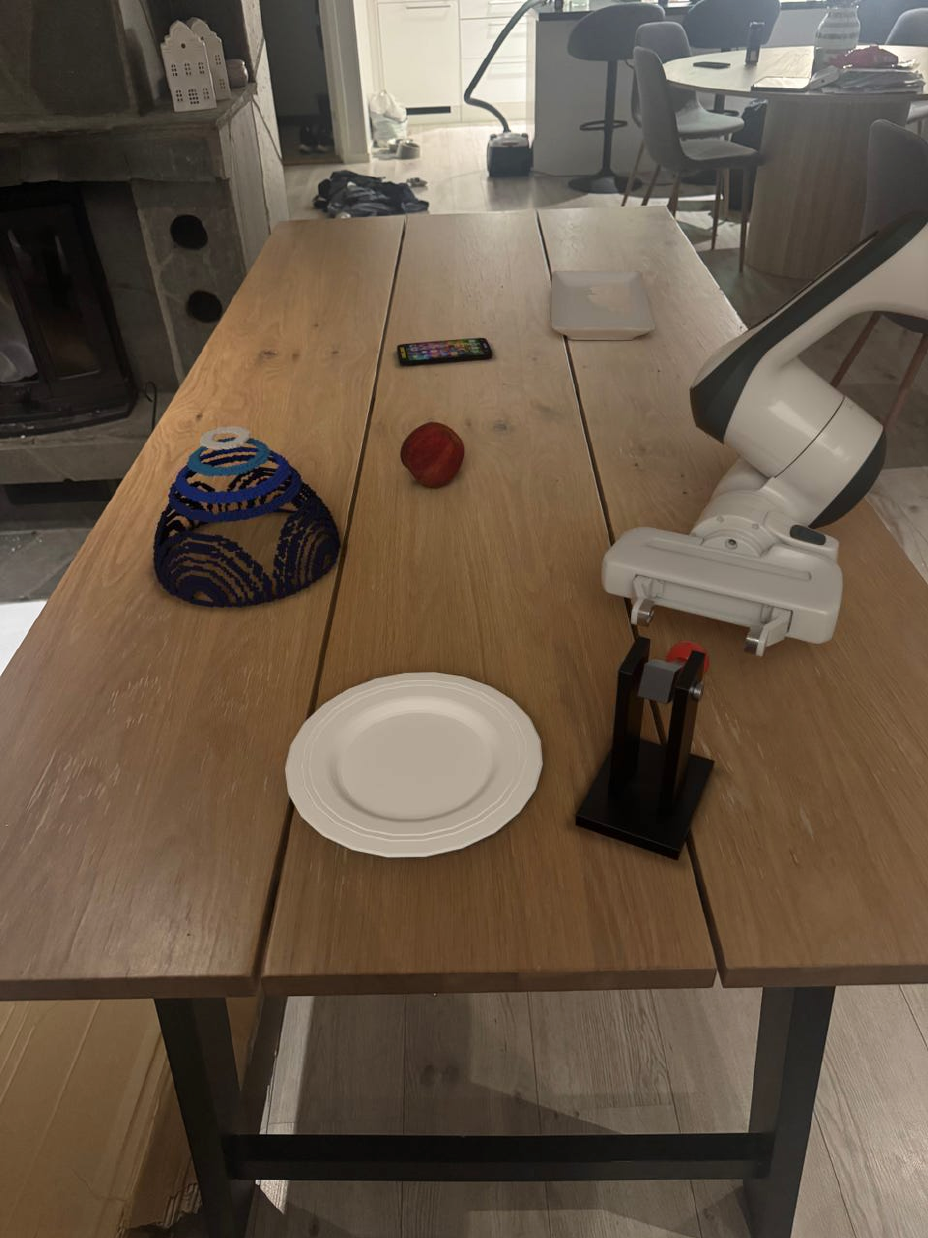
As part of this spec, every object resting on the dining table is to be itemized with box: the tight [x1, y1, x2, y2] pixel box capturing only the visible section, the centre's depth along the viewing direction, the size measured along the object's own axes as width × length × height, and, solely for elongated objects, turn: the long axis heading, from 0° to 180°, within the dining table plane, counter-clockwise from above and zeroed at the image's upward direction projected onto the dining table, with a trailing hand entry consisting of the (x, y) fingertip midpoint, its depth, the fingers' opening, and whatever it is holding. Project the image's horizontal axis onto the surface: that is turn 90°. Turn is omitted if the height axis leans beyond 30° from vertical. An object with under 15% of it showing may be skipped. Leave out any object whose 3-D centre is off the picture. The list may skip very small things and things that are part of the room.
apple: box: [399, 421, 466, 488], centre depth 113 cm, size 7×8×8 cm
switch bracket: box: [575, 635, 716, 862], centre depth 69 cm, size 10×8×14 cm
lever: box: [637, 640, 710, 705], centre depth 70 cm, size 13×3×3 cm, turn 153°
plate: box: [284, 671, 544, 860], centre depth 76 cm, size 21×21×2 cm
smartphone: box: [396, 337, 493, 366], centre depth 150 cm, size 8×1×15 cm
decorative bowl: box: [152, 425, 342, 609], centre depth 99 cm, size 20×20×14 cm
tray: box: [550, 270, 656, 341], centre depth 162 cm, size 17×32×4 cm, turn 175°
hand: (695, 633), depth 75 cm, fingers open, 8 cm apart
